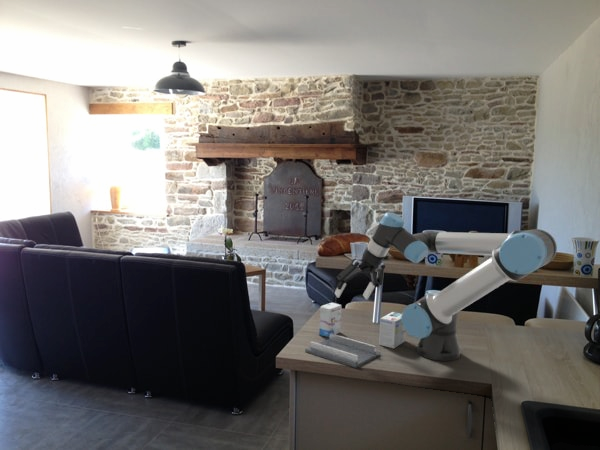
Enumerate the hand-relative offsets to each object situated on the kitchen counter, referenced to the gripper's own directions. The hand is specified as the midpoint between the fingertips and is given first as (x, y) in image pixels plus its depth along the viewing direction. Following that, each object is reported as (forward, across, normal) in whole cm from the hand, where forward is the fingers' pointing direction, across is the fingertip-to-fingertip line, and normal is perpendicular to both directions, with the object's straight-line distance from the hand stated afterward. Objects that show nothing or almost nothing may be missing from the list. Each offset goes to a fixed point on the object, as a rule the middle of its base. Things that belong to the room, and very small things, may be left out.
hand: (351, 296), depth 200 cm
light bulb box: (+10, -18, +14) cm, 25 cm away
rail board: (+14, +6, +16) cm, 22 cm away
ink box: (+22, -2, -2) cm, 22 cm away
